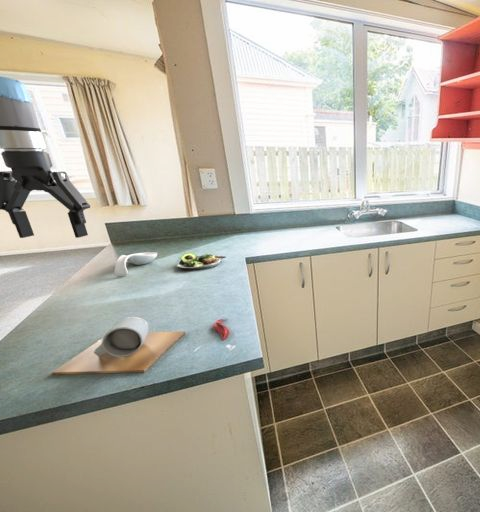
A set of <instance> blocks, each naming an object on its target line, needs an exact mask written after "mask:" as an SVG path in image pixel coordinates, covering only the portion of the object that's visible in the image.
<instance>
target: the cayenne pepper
mask: <svg viewBox="0 0 480 512" xmlns="http://www.w3.org/2000/svg"><path fill="white" fill-rule="evenodd" d="M223 321H224V319H222V318H220V319H218V320H216V321H215V322H214V323H213V324H212V330H214V331H215V332H217V333H218V334H219V335H220V336H221V341H224V340H227V338H228V337H229V335H230V330H229V328H228V327H227V326H225V325H223V324H222V322H223Z"/></svg>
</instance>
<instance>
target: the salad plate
mask: <svg viewBox="0 0 480 512" xmlns="http://www.w3.org/2000/svg"><path fill="white" fill-rule="evenodd" d="M227 257H228V256H226V255H217V254H212V253H209V254H208V253H205V254H202V255H197V254H195V253H193V252H186V253H184V254H182V255H181V256H180V259H179V260H180V261H179V262H178V263H177V264H178V265H177V269H179V270H180V271H182V272H183V271H185V272H188V271H189V272H190V271H195V270H196V271H197V270H203V269H208V268H213V267H215V266H218V265H219V264H220V263H221V261H222V260H223V259H226V258H227Z"/></svg>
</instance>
